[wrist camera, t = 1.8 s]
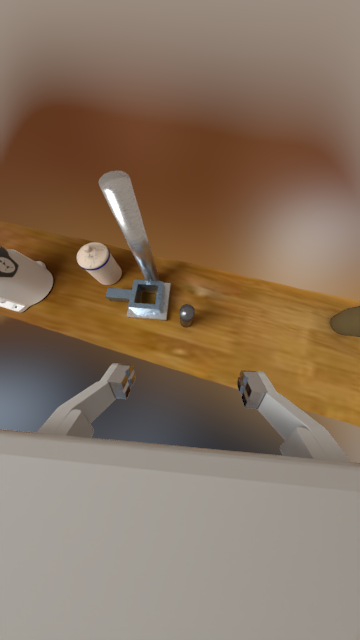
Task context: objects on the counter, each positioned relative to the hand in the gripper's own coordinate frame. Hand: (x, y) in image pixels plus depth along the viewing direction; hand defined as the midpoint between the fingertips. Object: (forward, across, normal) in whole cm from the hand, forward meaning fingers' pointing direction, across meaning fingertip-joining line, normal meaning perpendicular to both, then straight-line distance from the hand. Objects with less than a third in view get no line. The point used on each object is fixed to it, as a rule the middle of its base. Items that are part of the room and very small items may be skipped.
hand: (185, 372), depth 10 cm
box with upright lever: (+33, +15, +5) cm, 37 cm away
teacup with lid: (+38, +29, -1) cm, 48 cm away
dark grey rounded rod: (+28, 0, +11) cm, 30 cm away
